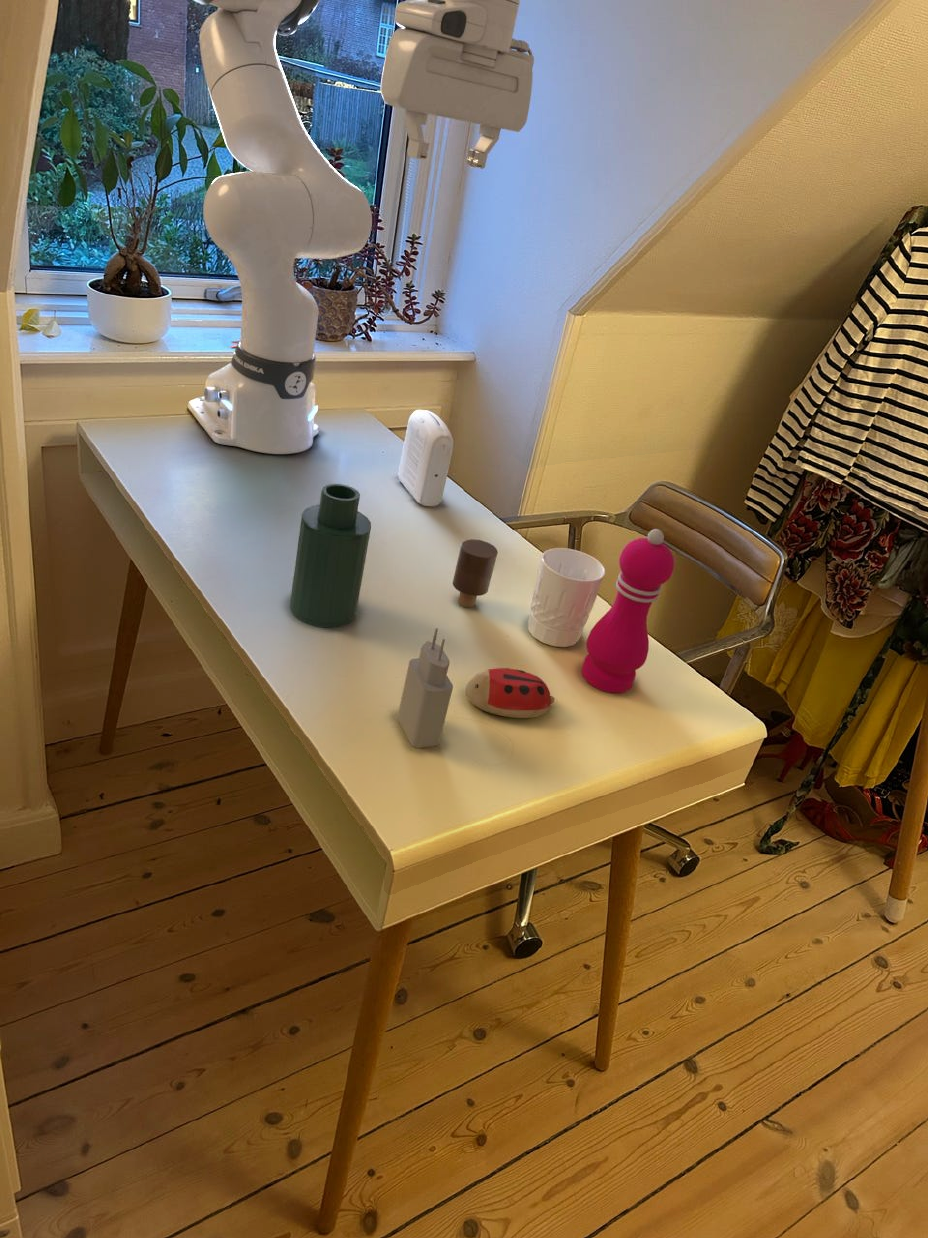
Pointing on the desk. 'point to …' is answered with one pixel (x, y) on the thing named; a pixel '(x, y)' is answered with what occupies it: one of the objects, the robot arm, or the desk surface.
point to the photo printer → (426, 457)
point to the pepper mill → (628, 615)
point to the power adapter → (426, 696)
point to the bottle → (330, 559)
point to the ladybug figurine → (509, 693)
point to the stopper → (474, 570)
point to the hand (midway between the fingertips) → (446, 162)
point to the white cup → (564, 596)
